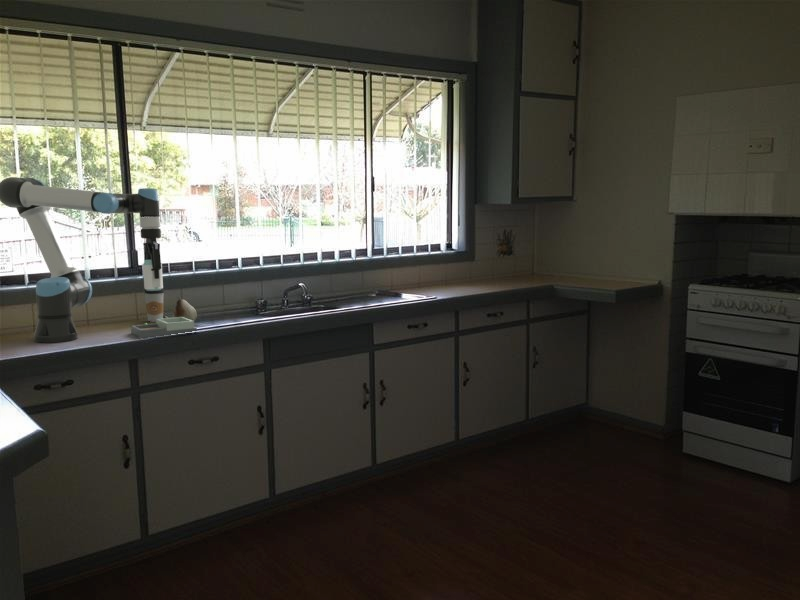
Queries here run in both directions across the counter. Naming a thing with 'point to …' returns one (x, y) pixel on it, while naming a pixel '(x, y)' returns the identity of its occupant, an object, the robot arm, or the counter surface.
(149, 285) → the can
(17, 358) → the counter surface
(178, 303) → the fruit
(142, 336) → the grey tray
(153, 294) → the coffee cup
